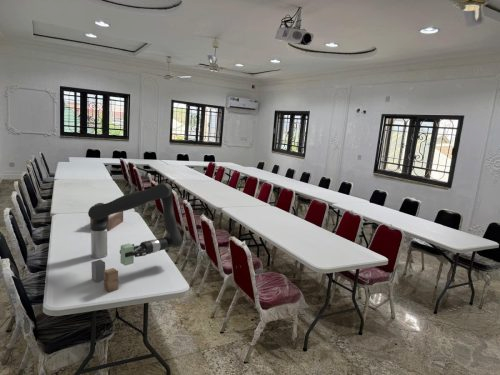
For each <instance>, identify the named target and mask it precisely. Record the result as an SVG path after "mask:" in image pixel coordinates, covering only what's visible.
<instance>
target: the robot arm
mask: <svg viewBox="0 0 500 375" xmlns="http://www.w3.org/2000/svg"><path fill="white" fill-rule="evenodd" d="M156 200H161V204H162V207H163V212H162V213H163V215H162V218H163V223H164V228H165V231H166V232H167V233H168V234H169V235H167V236H164V237H161V238H155V239H149V240H144V241H142V242H141V243H140V244H138V245H135V244H134V243H132V244H131V245H133V246H134V251H132V252H128V253H125V257H129V256H134V258H139V257H144V256H145V257H146V256H147V255H150V254H155V253H157V252H159V251H164V250H166V249H167V248H172V247H173V248H177V247H180V246H181V245H182V243H183V237H182V235H181V233H180V230H179V229H178V228H179V227H178V225H177V220H176V215H175V211H174V210H175V209H174V202H173V200H174V199H173V188H172V186H171V185H170V184H169V183H167V182H163V183H158V184H156V185H154V186H151V187H150V188H146V189H142V190H138V191H134V192H131V193H127V194H125V195H122V196H120V197H117V198H115V199H114V200H111V201H110V202H107V203H106V202H105V203H104V202H98V203H96V204H94V205H93V206H91V207H90V208H89V209H88V212H87V214H88V217H89V219H90V218H91V219H93V222H92V224H91V229H90V249H91V250H90V251H91V257H92V258H95V259H100V258H104V257H107V256H108V231H107V225H108V216H109V215H111V214H114V213H118V212H122V211H123V212H126V211H128V210H132V209H136V208H138V207H141V206H143V205H145V204H147V203H149V202H152V201H156ZM119 254H120V255H121V249H120V250H119Z"/></svg>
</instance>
